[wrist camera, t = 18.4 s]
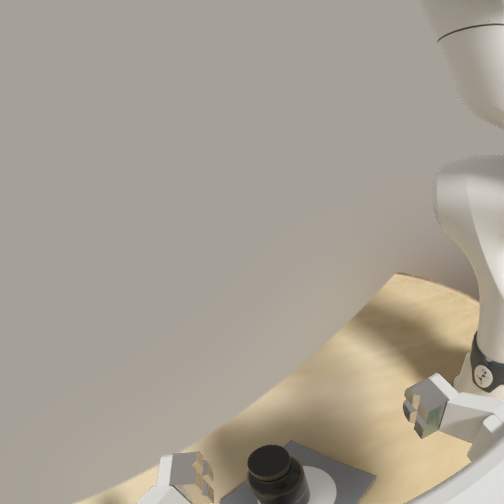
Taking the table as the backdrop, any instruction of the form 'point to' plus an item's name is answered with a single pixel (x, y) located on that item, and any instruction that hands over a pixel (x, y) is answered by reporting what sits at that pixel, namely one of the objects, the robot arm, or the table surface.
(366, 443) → the table surface
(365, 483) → the charging pad
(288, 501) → the supplement bottle
